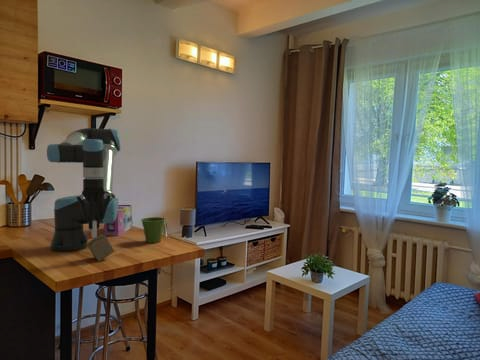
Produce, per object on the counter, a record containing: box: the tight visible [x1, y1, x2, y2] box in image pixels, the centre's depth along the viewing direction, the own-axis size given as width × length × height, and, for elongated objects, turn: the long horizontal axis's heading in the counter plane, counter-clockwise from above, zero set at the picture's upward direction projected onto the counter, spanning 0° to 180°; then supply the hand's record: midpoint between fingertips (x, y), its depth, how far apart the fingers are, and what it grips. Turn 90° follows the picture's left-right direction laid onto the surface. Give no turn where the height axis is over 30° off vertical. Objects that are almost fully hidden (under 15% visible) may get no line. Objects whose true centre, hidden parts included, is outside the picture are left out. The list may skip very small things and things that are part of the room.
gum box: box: [103, 204, 133, 237], centre depth 192 cm, size 24×8×14 cm, turn 0°
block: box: [86, 233, 115, 262], centre depth 141 cm, size 7×7×7 cm
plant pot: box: [140, 216, 166, 244], centre depth 171 cm, size 12×12×11 cm
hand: (94, 236), depth 139 cm, fingers closed
